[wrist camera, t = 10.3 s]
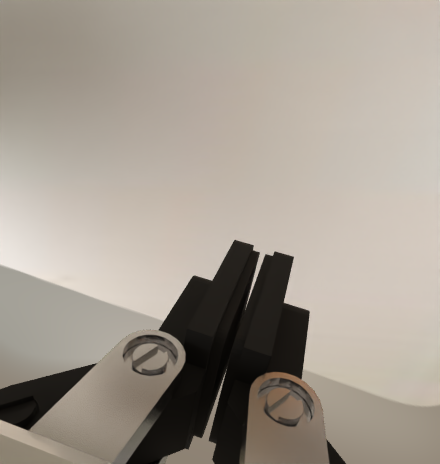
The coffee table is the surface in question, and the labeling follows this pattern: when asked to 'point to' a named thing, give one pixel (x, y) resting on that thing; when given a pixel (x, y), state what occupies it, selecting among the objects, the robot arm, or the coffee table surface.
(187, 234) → the coffee table surface
